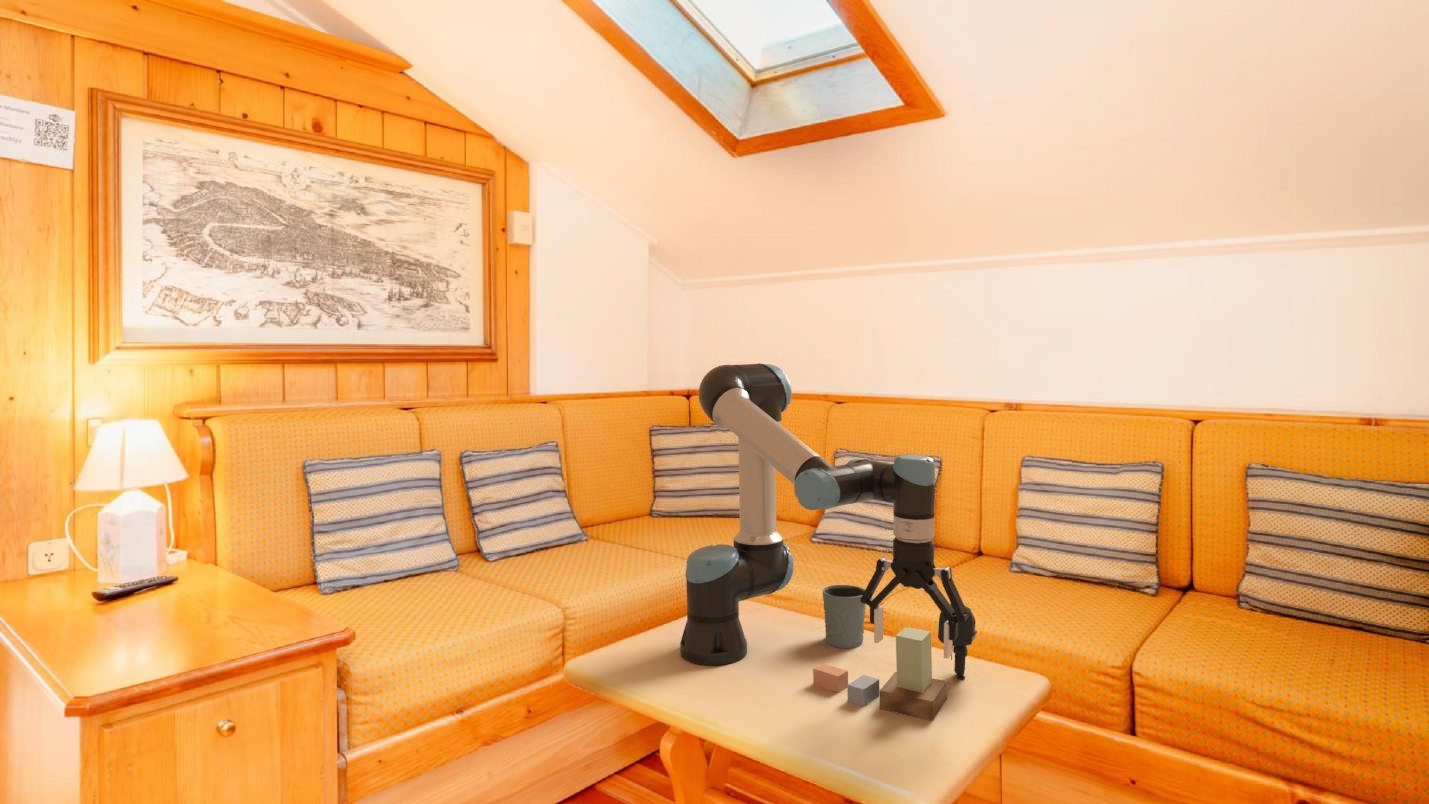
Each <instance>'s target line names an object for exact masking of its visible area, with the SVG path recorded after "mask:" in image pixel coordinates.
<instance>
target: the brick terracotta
mask: <svg viewBox="0 0 1429 804" xmlns="http://www.w3.org/2000/svg"><path fill="white" fill-rule="evenodd" d="M812 671H813V672H812V678H813V679H812V680H813V681H812V682H813V683H812V685H813V686H816V687H818V688H822V689H825V690H828V691H832V692H835V693H838V694H839V693H841V692H842V691H844V690H847V689H848V684H849V670H847V669H844V668H841V667H836V666H833V665H830V664H826V663H824V662H823V663H820V664H819V665H817V666H816V667H813V669H812Z"/></svg>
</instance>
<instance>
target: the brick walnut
mask: <svg viewBox="0 0 1429 804" xmlns="http://www.w3.org/2000/svg"><path fill="white" fill-rule="evenodd" d="M947 684H948V681H947V680H943V679H938V678H937V679H936V678H933V677H932V683H931V684H930V685H929V686H928V687H927V689H926V690H925V691H924V692H923V693H921V692H917V691H913V690H909V689H904V688H900V687H897V671H894V672H893V674H892V675H891V676H890V678H889V679H888V680H887V681H886V682H885V683H884V685H883V686H882V687H881V688H879V710H882V711H887V712H891V713H896V714H899V715H900V714H901V715H905V716H909V717H910V716H911V717H914V718H919V719H924V720H927V721H928V720H929V721H932V722H933V721H934V720H935V719H936V717H937V715H939V713H940V711H941V709H942V707H943V706H944V704H945V703H946V701H947V698H948V691H947V690H948V687H947V686H948V685H947Z"/></svg>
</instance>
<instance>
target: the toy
mask: <svg viewBox="0 0 1429 804" xmlns="http://www.w3.org/2000/svg"><path fill="white" fill-rule="evenodd" d="M949 604H950V605H951V603H949ZM951 606H952V605H951ZM964 606H965V608H966V610H967V613H968V615H969V617H968V618H967V619H966V620H965V621H964V622H962V623H961V622H959V623H958V637H957V639H956V640H955V641H953V640H952V652H953V653H954V667H953V669H954V670H953V672H954V674H956V677H957V679H958V680H965V679H966V676H964V674H965V670H966V658H967V657H968V647H967V646H971V645H972V643H973V641H974V640H975V639H976V637H977V634H978V631H977V630H976V618H975V615H974V613H973V612H972V608H969V607H968V606H967V605H964ZM952 608H953V607H952ZM938 617H939V618H938V632H937V638H938V640H939V641H940V643H942V644H943V645H944V623H945V622H946V621H947V619H946V618H945V616H944V615H943V614H942V612H941V611H940V613H939V616H938ZM950 659H951V661H952V660H953V654H952V655H951V656H950Z"/></svg>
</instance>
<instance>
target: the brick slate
mask: <svg viewBox="0 0 1429 804" xmlns="http://www.w3.org/2000/svg"><path fill="white" fill-rule="evenodd" d="M877 698H880V679H879V678H876V677H872V676H869V675H866V674H863V675H861V676H859V677H857V678H856V679H854V680H853V681H851V682H850V683H849V682H848V687H847V703H850V704H853V705H857V706H860V707H862V708H864V707H865V706H867V705H868V704H869V705H870V703H872V702H873V701H874V700H877Z"/></svg>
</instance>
